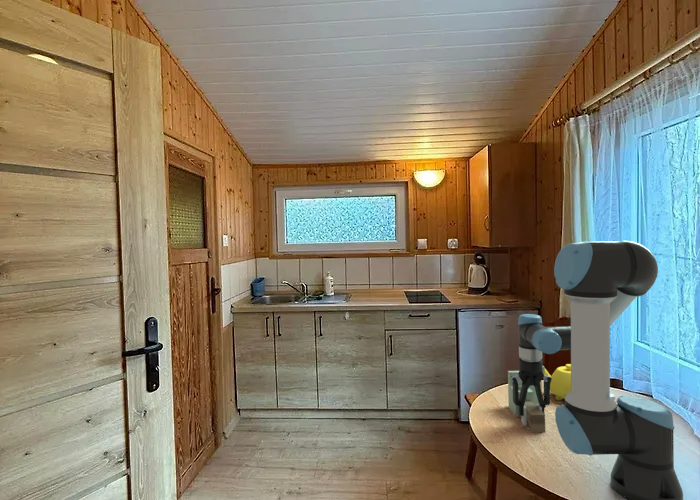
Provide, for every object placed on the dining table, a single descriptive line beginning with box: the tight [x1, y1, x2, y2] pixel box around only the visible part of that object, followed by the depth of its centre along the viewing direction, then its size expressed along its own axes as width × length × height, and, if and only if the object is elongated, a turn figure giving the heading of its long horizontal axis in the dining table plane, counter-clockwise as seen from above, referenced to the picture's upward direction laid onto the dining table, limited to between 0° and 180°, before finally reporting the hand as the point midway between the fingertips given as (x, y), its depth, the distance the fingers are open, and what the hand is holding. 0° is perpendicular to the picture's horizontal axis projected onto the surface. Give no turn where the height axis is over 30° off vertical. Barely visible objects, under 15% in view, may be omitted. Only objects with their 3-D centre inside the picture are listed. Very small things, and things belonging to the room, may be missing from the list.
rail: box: [518, 401, 546, 433], centre depth 147 cm, size 16×4×6 cm, turn 177°
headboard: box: [507, 364, 546, 417], centre depth 156 cm, size 9×13×16 cm
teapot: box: [543, 363, 571, 401], centre depth 168 cm, size 20×16×14 cm
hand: (531, 424), depth 145 cm, fingers closed on rail, 5 cm apart
